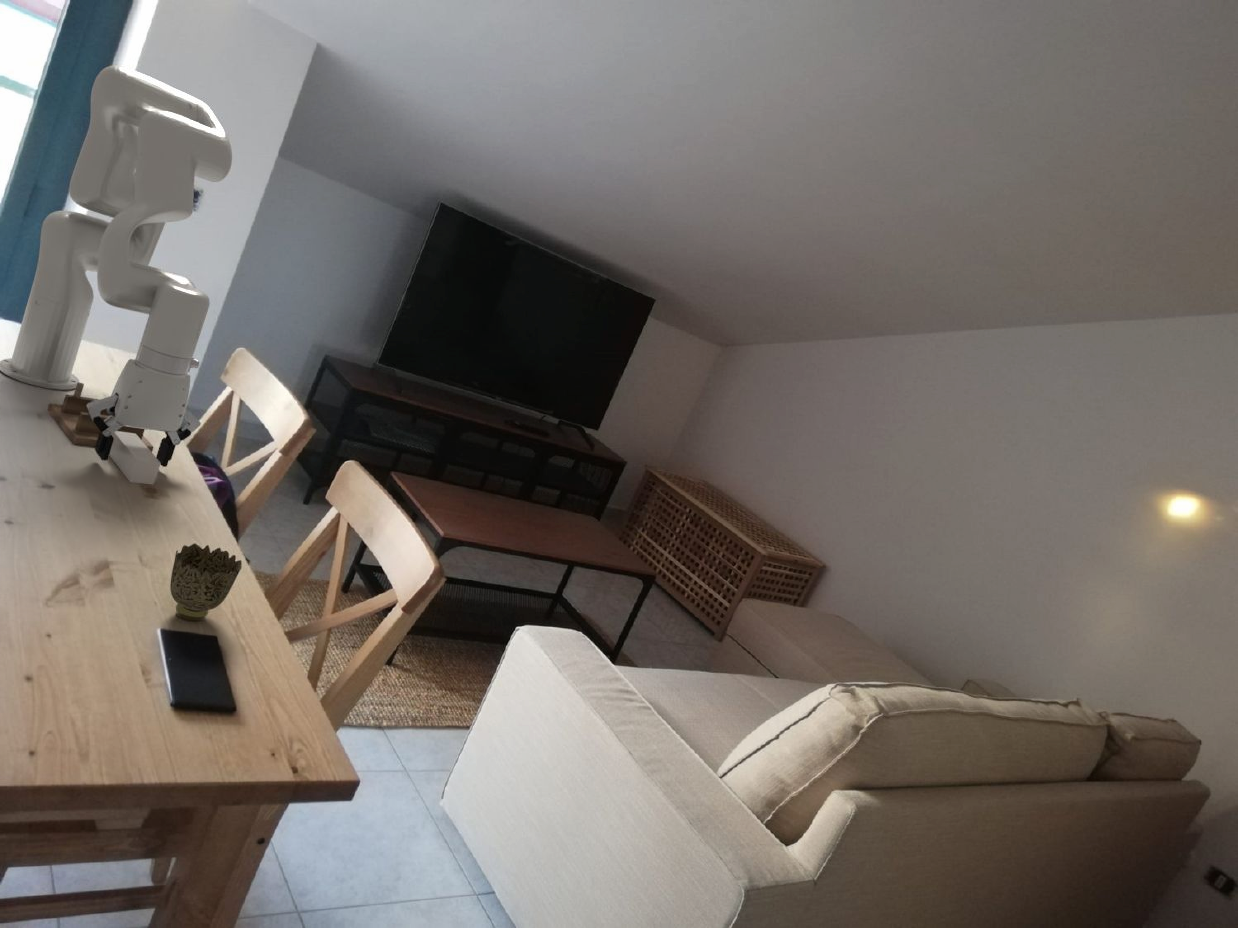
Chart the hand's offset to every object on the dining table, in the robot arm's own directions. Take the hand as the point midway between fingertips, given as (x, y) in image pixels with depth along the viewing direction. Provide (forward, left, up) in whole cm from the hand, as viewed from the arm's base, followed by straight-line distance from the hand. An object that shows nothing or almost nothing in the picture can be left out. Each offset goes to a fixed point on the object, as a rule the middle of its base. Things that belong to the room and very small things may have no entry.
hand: (132, 459), depth 138 cm
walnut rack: (-15, 0, -1) cm, 15 cm away
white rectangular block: (0, 0, -2) cm, 2 cm away
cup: (+46, -8, -2) cm, 47 cm away
